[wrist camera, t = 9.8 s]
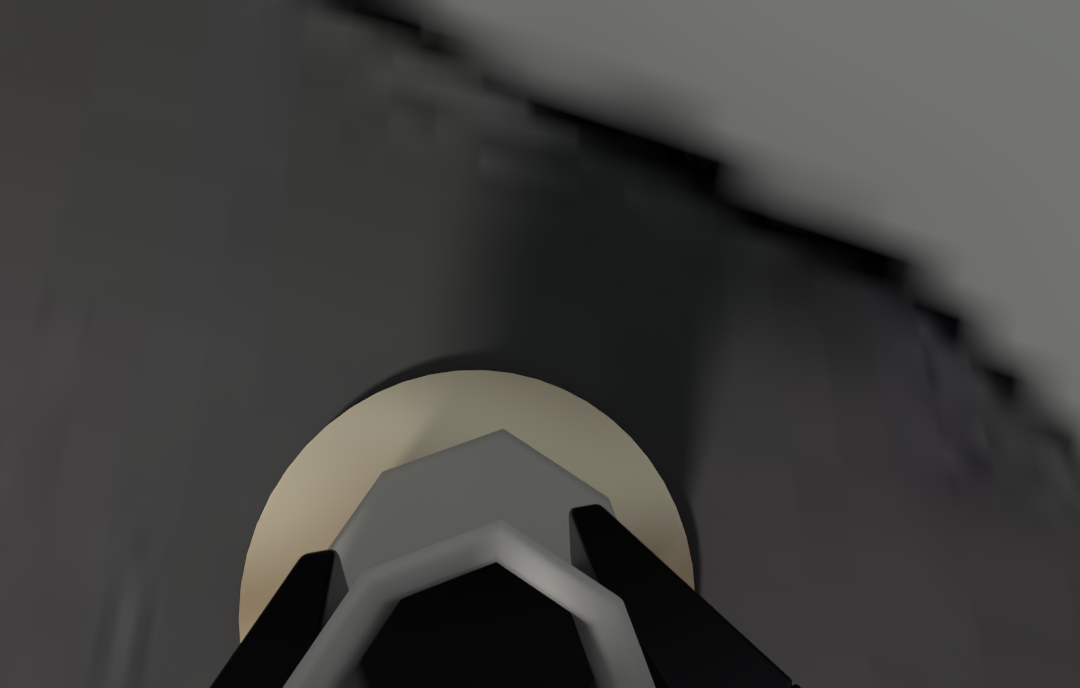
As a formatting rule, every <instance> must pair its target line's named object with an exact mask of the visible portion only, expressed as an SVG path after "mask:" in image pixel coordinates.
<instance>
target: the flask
mask: <svg viewBox="0 0 1080 688" xmlns="http://www.w3.org/2000/svg"><path fill="white" fill-rule="evenodd" d="M591 504H599V505H601V506H603V507H604V508H605V509H606V510H607V511H608V512H609V513H610V514H611V515H613V516H614V517H615V518H616V515H615V513H614V510H613V508H612V505H611V502H610V500H609V498H608V497H606V496H605V495H603V494H602V493H600V492H599V491H597V490H596V489H594V488H593V487H591V486H590V485H588V484H587V483H585V482H584V481H582V480H581V479H579V478H578V477H576V476H575V475H573V474H572V473H570V472H569V471H567V470H566V469H564V468H563V467H561V466H559V465H558V464H556V463H555V462H553V461H552V460H550V459H549V458H547V457H546V456H544V455H543V454H541V453H540V452H538V451H537V450H535V449H534V448H532V447H531V446H529V445H528V444H526V443H525V442H523V441H522V440H520V439H519V438H517V437H516V436H514V435H512V434H511V433H509V432H508V431H506V430H505V429H501V430H498V431H495V432H492V433H489V434H487V435H484V436H481V437H478V438H475V439H473V440H470V441H467V442H464V443H461V444H459V445H456V446H453V447H450V448H447V449H445V450H442V451H439V452H436V453H433V454H431V455H428V456H425V457H422V458H419V459H416V460H414V461H411V462H408V463H405V464H402V465H400V466H397V467H394V468H391V469H388V470H386V471H383V472H382V473H381V474H380V476H379V477H378V479H377V480H376V481H375V483H374V484H373V486H372V487H371V488H370V490H369V491H368V493H367V494H366V496H365V497H364V498H363V500H362V501H361V503H360V504H359V506H358V507H357V508H356V510H355V511H354V513H353V514H352V515H351V517H350V518H349V520H348V521H347V523H346V524H345V525H344V527H343V528H342V530H341V531H340V532H339V534H338V535H337V537H336V538H335V540H334V541H333V542H332V544H331V545H330V547H329V548H328V549H333V550H335V551H337V553H338V554H339V557H340V560H341V564H342V567H343V571H344V574H345V578H346V582H347V585H348V589H349V591H348V593H347V594H346V596H345V597H344V599H343V600H342V602H341V603H340V605H339V606H338V608H337V609H336V610H335V612H334V613H333V615H332V616H331V618H330V619H329V621H328V622H327V624H326V625H325V627H324V628H323V629H322V631H321V632H320V634H319V635H318V637H317V638H316V640H315V641H314V643H313V644H312V646H311V647H310V648H309V650H308V651H307V653H306V654H305V656H304V657H303V659H302V660H301V662H300V663H299V665H298V666H297V667H296V669H295V670H294V672H293V673H292V675H291V676H290V678H289V679H288V681H287V682H286V684H285V685H284V686H283V688H656V687H655V685H654V682H653V679H652V677H651V674H650V671H649V669H648V666H647V663H646V661H645V658H644V655H643V653H642V650H641V647H640V645H639V642H638V639H637V637H636V634H635V631H634V629H633V626H632V623H631V621H630V618H629V615H628V613H627V610H626V607H625V605H624V602H623V600H622V599H621V598H620V597H619V596H617V595H616V594H614V593H613V592H611V591H610V590H608V589H607V588H605V587H604V586H602V585H601V584H599V583H598V582H596V581H595V580H593V579H592V578H590V577H589V576H587V575H586V574H584V573H583V572H581V571H580V570H578V569H577V568H575V567H574V566H572V563H571V556H570V537H569V511H570V510H571V509H572V508H574V507H580V506H585V505H591ZM616 519H617V518H616ZM328 549H327V550H328Z"/></svg>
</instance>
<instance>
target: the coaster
mask: <svg viewBox="0 0 1080 688" xmlns="http://www.w3.org/2000/svg"><path fill="white" fill-rule="evenodd" d="M501 429H505V430H506V431H508V432H509V433H511V434H512V435H514V436H516V437H517V438H519V439H520V440H522V441H523V442H525V443H526V444H528V445H529V446H531V447H532V448H534V449H535V450H537V451H538V452H540V453H541V454H543V455H544V456H546V457H547V458H549V459H550V460H552V461H553V462H555V463H556V464H558V465H559V466H561V467H563V468H564V469H566V470H567V471H569V472H570V473H572V474H573V475H575V476H576V477H578V478H579V479H581V480H582V481H584V482H585V483H587V484H588V485H590V486H591V487H593V488H594V489H596V490H597V491H599V492H600V493H602V494H603V495H605V496H606V497H608V498H609V500H610V502H611V505H612V508H613V510H614V513H615V515H616V518H617V520H618V521H619V522H620V523H621V524H622V525H623V526H625V527H626V528H627V529H628V530H629V531H630V532H631V533H632V534H633V535H634V536H636V537H637V538H638V539H639V540H640V541H641V542H642V543H643V544H644V545H645V546H646V547H648V548H649V549H650V550H651V551H652V552H653V553H654V554H655V555H656V556H657V557H658V558H660V559H661V560H662V561H663V562H664V563H665V564H666V565H667V566H668V567H669V568H670V569H672V570H673V571H674V572H675V573H676V574H677V575H678V576H679V577H680V578H681V579H682V580H684V581H685V582H686V583H687V584H688V585H689V586H690V587H691V588H692V589H693V590H694V591H695V588H694V577H693V565H692V561H691V556H690V551H689V547H688V542H687V537H686V534H685V531H684V528H683V525H682V522H681V519H680V516H679V513H678V511H677V508H676V506H675V504H674V502H673V500H672V498H671V495H670V493H669V491H668V489H667V487H666V485H665V483H664V481H663V480H662V478H661V477H660V475H659V474H658V472H657V471H656V469H655V468H654V466H653V464H652V463H651V461H650V460H649V458H648V457H647V456H646V455H645V454H644V452H643V451H642V450H641V449H640V448H639V446H638V445H637V444H636V443H635V442H634V441H633V439H632V438H631V437H630V436H629V435H628V434H627V433H626V432H625V431H623V430H622V429H621V428H620V427H619V426H618V425H617V424H616V423H615V422H614V421H613V420H612V419H610V418H609V417H608V416H606V415H605V414H604V413H602V412H601V411H599V410H598V409H597V408H595V407H594V406H592V405H591V404H590V403H588V402H586V401H585V400H583V399H581V398H579V397H577V396H575V395H573V394H572V393H570V392H568V391H566V390H564V389H562V388H559V387H556V386H554V385H551V384H549V383H546V382H543V381H541V380H538V379H534V378H530V377H526V376H522V375H517V374H513V373H506V372H497V371H488V370H464V371H451V372H444V373H437V374H431V375H426V376H423V377H419V378H416V379H412V380H408V381H405V382H402V383H399V384H397V385H395V386H392V387H390V388H387V389H385V390H383V391H380V392H378V393H376V394H374V395H372V396H370V397H369V398H367V399H365V400H363V401H362V402H360V403H358V404H356V405H355V406H353V407H351V408H350V409H348V410H347V411H346V412H344V413H343V414H342V415H340V416H339V417H338V418H336V419H335V420H334V421H332V422H331V423H330V424H328V425H327V426H326V427H325V428H324V429H323V430H322V431H321V432H320V433H319V434H318V435H317V436H316V437H315V438H314V439H313V440H312V441H311V442H310V443H309V444H307V445H306V447H305V448H304V449H303V450H302V451H301V453H300V454H299V455H298V456H297V458H296V459H295V460H294V461H293V463H292V464H291V465H290V466H289V467H288V469H287V470H286V472H285V473H284V475H283V476H282V478H281V480H280V481H279V483H278V484H277V486H276V488H275V489H274V491H273V492H272V494H271V495H270V498H269V500H268V502H267V504H266V506H265V508H264V510H263V512H262V515H261V517H260V519H259V521H258V523H257V526H256V529H255V532H254V535H253V538H252V541H251V544H250V547H249V550H248V553H247V558H246V563H245V568H244V573H243V578H242V583H241V593H240V608H239V629H240V643H241V642H242V640H243V639H244V638H245V636H246V635H247V633H248V632H249V630H250V629H251V627H252V626H253V625H254V623H255V622H256V620H257V619H258V617H259V616H260V614H261V613H262V612H263V610H264V609H265V607H266V606H267V604H268V603H269V602H270V600H271V599H272V597H273V596H274V594H275V593H276V591H277V590H278V589H279V587H280V586H281V584H282V583H283V581H284V580H285V578H286V577H287V576H288V574H289V573H290V571H291V570H292V568H293V567H294V565H295V564H296V563H297V561H298V560H299V558H300V557H301V556H303V555H304V554H306V553H311V552H317V551H322V550H327V549H328V548H329V547H330V545H331V544H332V542H333V541H334V540H335V538H336V537H337V535H338V534H339V532H340V531H341V530H342V528H343V527H344V525H345V524H346V523H347V521H348V520H349V518H350V517H351V515H352V514H353V513H354V511H355V510H356V508H357V507H358V506H359V504H360V503H361V501H362V500H363V498H364V497H365V496H366V494H367V493H368V491H369V490H370V488H371V487H372V486H373V484H374V483H375V481H376V480H377V479H378V477H379V476H380V474H381V473H382V472H383V471H386V470H388V469H391V468H394V467H397V466H400V465H402V464H405V463H408V462H411V461H414V460H416V459H419V458H422V457H425V456H428V455H431V454H433V453H436V452H439V451H442V450H445V449H447V448H450V447H453V446H456V445H459V444H461V443H464V442H467V441H470V440H473V439H475V438H478V437H481V436H484V435H487V434H489V433H492V432H495V431H498V430H501Z"/></svg>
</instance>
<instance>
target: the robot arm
mask: <svg viewBox="0 0 1080 688" xmlns="http://www.w3.org/2000/svg"><path fill="white" fill-rule="evenodd" d="M569 537H570V556H571V563H572V566H574V567H575V568H577V569H578V570H580V571H581V572H583V573H584V574H586V575H587V576H589V577H590V578H592V579H593V580H595V581H596V582H598V583H599V584H601V585H602V586H604V587H605V588H607V589H608V590H610V591H611V592H613V593H614V594H616V595H617V596H619V597H620V598H621V599H622V600H623V602H624V605H625V607H626V610H627V613H628V615H629V618H630V621H631V623H632V626H633V629H634V631H635V634H636V637H637V639H638V642H639V645H640V647H641V650H642V653H643V655H644V658H645V661H646V663H647V666H648V669H649V671H650V674H651V677H652V679H653V682H654V685H655V687H656V688H801V687H800V686H799V685H797V684H795V685H793V686H792V680H791V678H790V677H788V676H787V675H786V674H785V673H784V672H783V671H782V670H781V669H780V668H779V667H777V666H776V665H775V664H774V663H773V662H772V661H771V660H770V659H769V658H768V657H767V656H765V655H764V654H763V653H762V652H761V651H760V650H759V649H758V648H757V647H756V646H755V645H753V644H752V643H751V642H750V641H749V640H748V639H747V638H746V637H745V636H744V635H743V634H741V633H740V632H739V631H738V630H737V629H736V628H735V627H734V626H733V625H732V624H731V623H729V622H728V621H727V620H726V619H725V618H724V617H723V616H722V615H721V614H720V613H719V612H717V611H716V610H715V609H714V608H713V607H712V606H711V605H710V604H709V603H708V602H706V601H705V600H704V599H703V598H702V597H701V596H700V595H699V594H698V593H697V592H696V591H694V590H693V589H692V588H691V587H690V586H689V585H688V584H687V583H686V582H685V581H684V580H682V579H681V578H680V577H679V576H678V575H677V574H676V573H675V572H674V571H673V570H672V569H670V568H669V567H668V566H667V565H666V564H665V563H664V562H663V561H662V560H661V559H660V558H658V557H657V556H656V555H655V554H654V553H653V552H652V551H651V550H650V549H649V548H648V547H646V546H645V545H644V544H643V543H642V542H641V541H640V540H639V539H638V538H637V537H636V536H634V535H633V534H632V533H631V532H630V531H629V530H628V529H627V528H626V527H625V526H623V525H622V524H621V523H620V522H619V521H618V520H617V519H616V518H615V517H614V516H613V515H611V514H610V513H609V512H608V511H607V510H606V509H605V508H604V507H603V506H601V505H599V504H591V505H585V506H580V507H574V508H572V509H571V510H570V511H569ZM348 591H349V589H348V585H347V582H346V578H345V574H344V571H343V567H342V564H341V560H340V557H339V554H338V553H337V551H335V550H333V549H328V550H322V551H317V552H311V553H306V554H304V555H303V556H301V557H300V558H299V560H298V561H297V563H296V564H295V565H294V567H293V568H292V570H291V571H290V573H289V574H288V576H287V577H286V578H285V580H284V581H283V583H282V584H281V586H280V587H279V589H278V590H277V591H276V593H275V594H274V596H273V597H272V599H271V600H270V602H269V603H268V604H267V606H266V607H265V609H264V610H263V612H262V613H261V614H260V616H259V617H258V619H257V620H256V622H255V623H254V625H253V626H252V627H251V629H250V630H249V632H248V633H247V635H246V636H245V638H244V639H243V640H242V642H241V643H240V645H239V646H238V648H237V649H236V651H235V652H234V653H233V655H232V656H231V658H230V659H229V661H228V662H227V664H226V665H225V666H224V668H223V669H222V671H221V672H220V674H219V675H218V677H217V678H216V679H215V681H214V682H213V684H212V685H211V687H210V688H283V686H284V685H285V684H286V682H287V681H288V679H289V678H290V676H291V675H292V673H293V672H294V670H295V669H296V667H297V666H298V665H299V663H300V662H301V660H302V659H303V657H304V656H305V654H306V653H307V651H308V650H309V648H310V647H311V646H312V644H313V643H314V641H315V640H316V638H317V637H318V635H319V634H320V632H321V631H322V629H323V628H324V627H325V625H326V624H327V622H328V621H329V619H330V618H331V616H332V615H333V613H334V612H335V610H336V609H337V608H338V606H339V605H340V603H341V602H342V600H343V599H344V597H345V596H346V594H347V593H348Z"/></svg>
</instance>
